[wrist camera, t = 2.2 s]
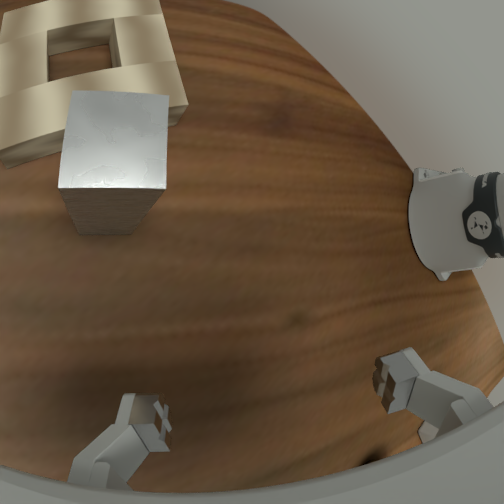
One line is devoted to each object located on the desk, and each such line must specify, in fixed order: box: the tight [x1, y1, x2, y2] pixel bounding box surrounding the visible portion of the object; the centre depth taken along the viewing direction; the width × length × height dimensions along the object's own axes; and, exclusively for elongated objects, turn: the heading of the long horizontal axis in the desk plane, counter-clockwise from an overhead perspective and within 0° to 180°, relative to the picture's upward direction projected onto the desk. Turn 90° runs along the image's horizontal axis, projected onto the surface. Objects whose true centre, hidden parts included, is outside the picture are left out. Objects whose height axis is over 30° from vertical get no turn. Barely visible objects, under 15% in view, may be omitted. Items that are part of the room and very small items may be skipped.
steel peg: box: [58, 90, 169, 235], centre depth 17 cm, size 4×4×14 cm
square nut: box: [0, 0, 188, 169], centre depth 21 cm, size 16×16×4 cm
